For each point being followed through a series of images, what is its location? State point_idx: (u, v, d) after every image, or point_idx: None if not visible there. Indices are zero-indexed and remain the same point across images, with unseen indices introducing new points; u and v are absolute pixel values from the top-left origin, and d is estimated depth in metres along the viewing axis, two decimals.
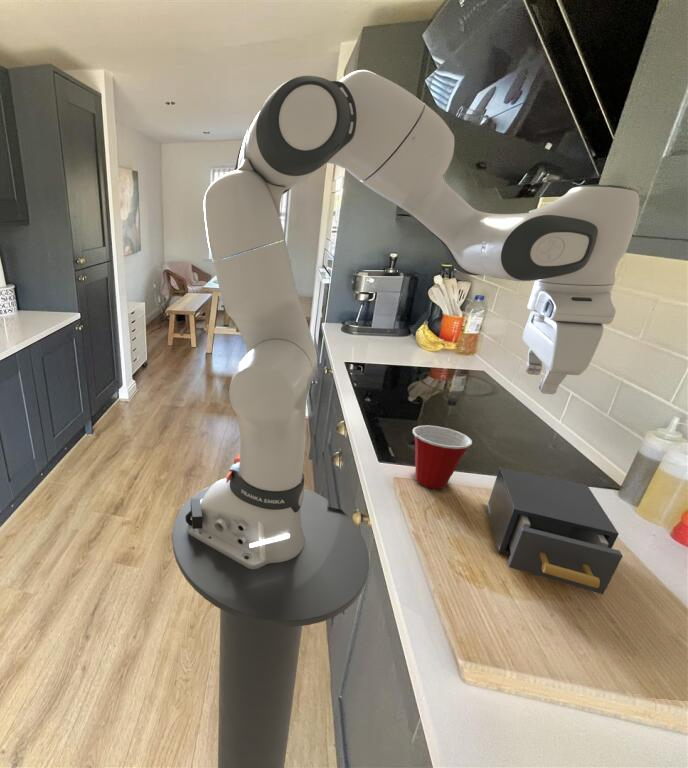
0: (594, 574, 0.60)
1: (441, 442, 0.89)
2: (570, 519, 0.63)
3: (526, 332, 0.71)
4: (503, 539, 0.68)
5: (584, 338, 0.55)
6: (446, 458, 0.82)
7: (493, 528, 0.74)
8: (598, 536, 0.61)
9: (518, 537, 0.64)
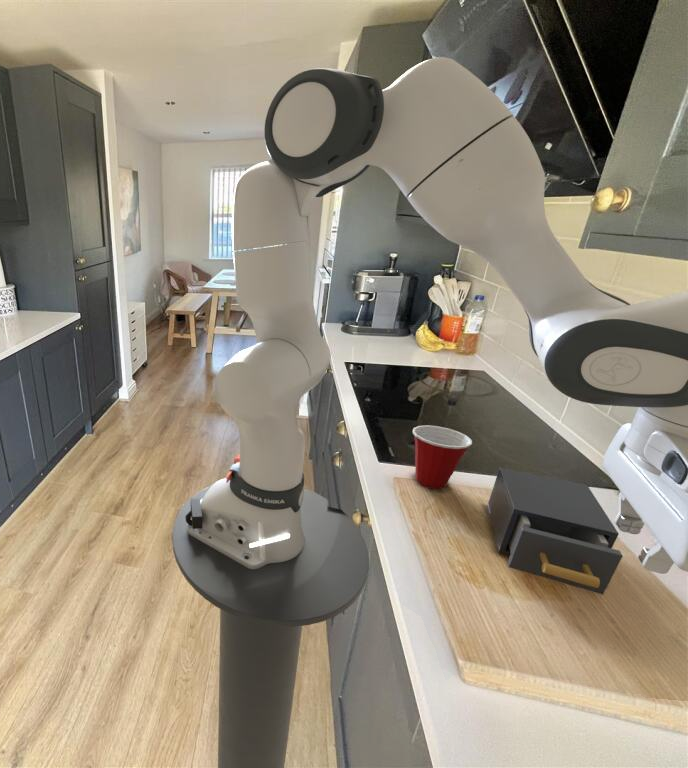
0: (594, 574, 0.60)
1: (441, 442, 0.89)
2: (570, 519, 0.63)
3: (611, 461, 0.50)
4: (503, 539, 0.68)
5: None
6: (446, 458, 0.82)
7: (493, 528, 0.74)
8: (598, 536, 0.61)
9: (518, 537, 0.64)
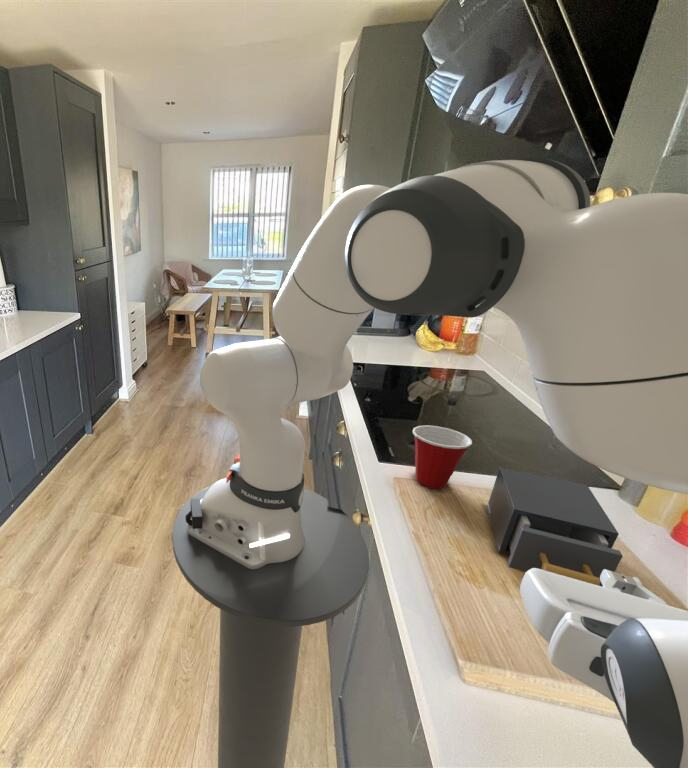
0: (594, 574, 0.60)
1: (441, 442, 0.89)
2: (570, 519, 0.63)
3: None
4: (503, 539, 0.68)
5: (536, 615, 0.45)
6: (446, 459, 0.82)
7: (493, 528, 0.74)
8: (598, 536, 0.61)
9: (518, 537, 0.64)
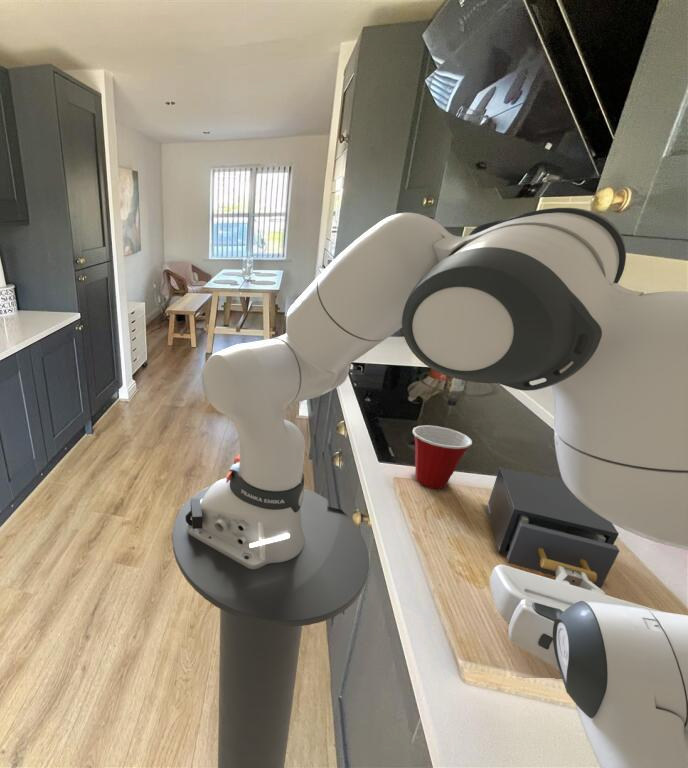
0: (591, 569, 0.61)
1: (441, 442, 0.89)
2: (570, 519, 0.63)
3: None
4: (503, 539, 0.68)
5: (500, 602, 0.55)
6: (446, 459, 0.82)
7: (493, 528, 0.74)
8: None
9: (517, 533, 0.65)
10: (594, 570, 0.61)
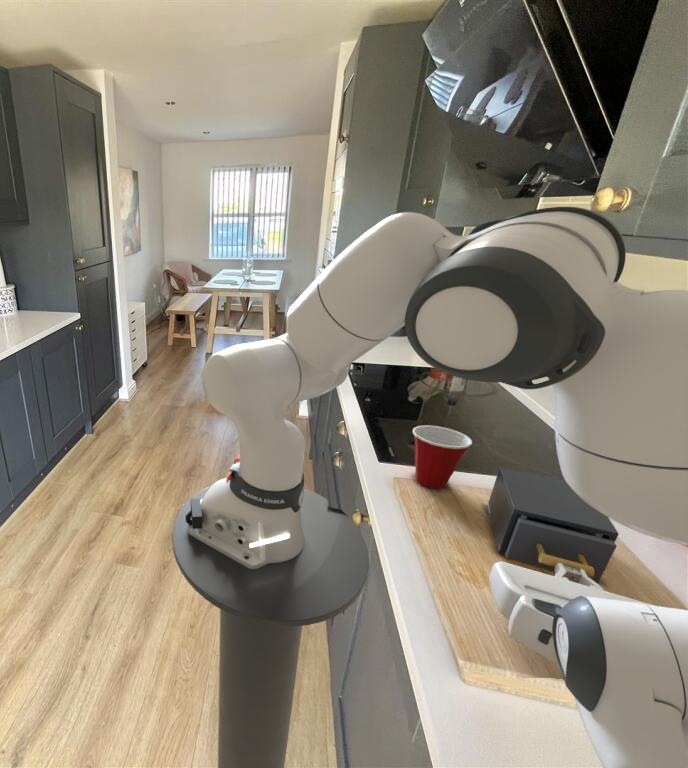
0: (589, 564, 0.62)
1: (441, 442, 0.89)
2: (570, 519, 0.63)
3: None
4: (503, 539, 0.68)
5: (500, 599, 0.56)
6: (446, 458, 0.82)
7: (493, 528, 0.74)
8: None
9: (515, 529, 0.65)
10: (591, 565, 0.61)
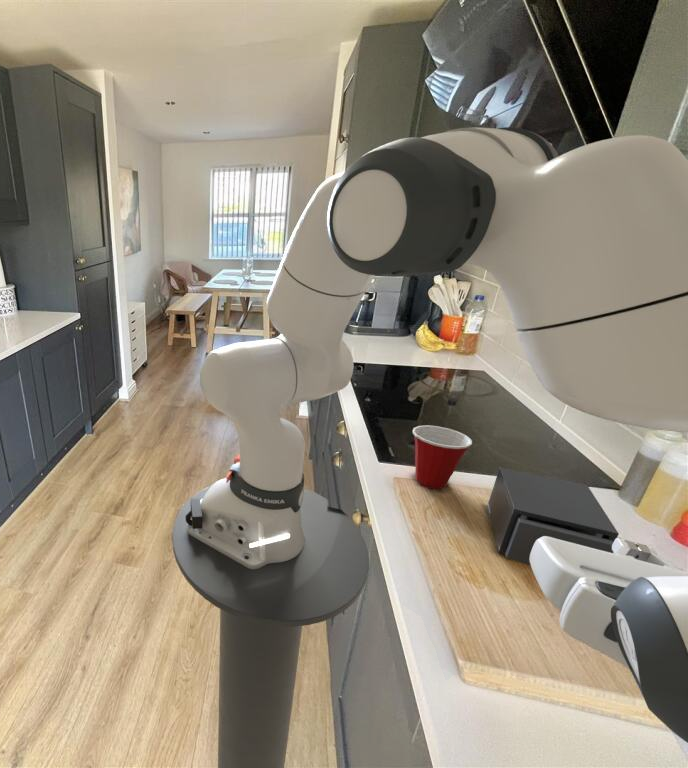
0: None
1: (441, 442, 0.89)
2: (570, 519, 0.63)
3: None
4: (503, 539, 0.68)
5: (547, 582, 0.43)
6: (446, 459, 0.82)
7: (493, 528, 0.74)
8: None
9: (515, 529, 0.65)
10: None
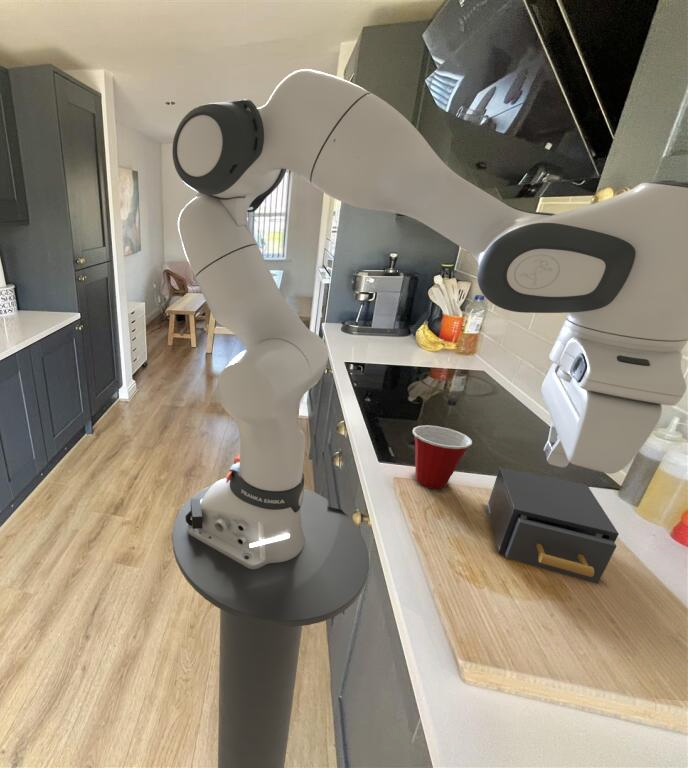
0: (589, 564, 0.62)
1: (441, 442, 0.89)
2: (570, 519, 0.63)
3: (546, 383, 0.52)
4: (503, 539, 0.68)
5: (628, 424, 0.36)
6: (446, 459, 0.82)
7: (493, 528, 0.74)
8: None
9: (515, 529, 0.65)
10: (591, 565, 0.61)
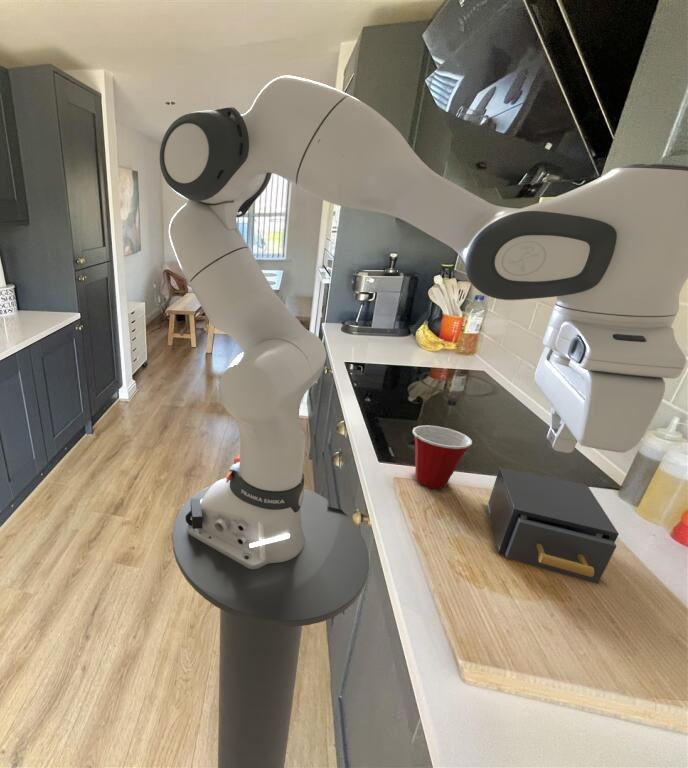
0: (589, 564, 0.62)
1: (441, 442, 0.89)
2: (570, 519, 0.63)
3: (540, 372, 0.52)
4: (503, 539, 0.68)
5: (635, 400, 0.36)
6: (446, 458, 0.82)
7: (493, 528, 0.74)
8: None
9: (515, 529, 0.65)
10: (591, 565, 0.61)
